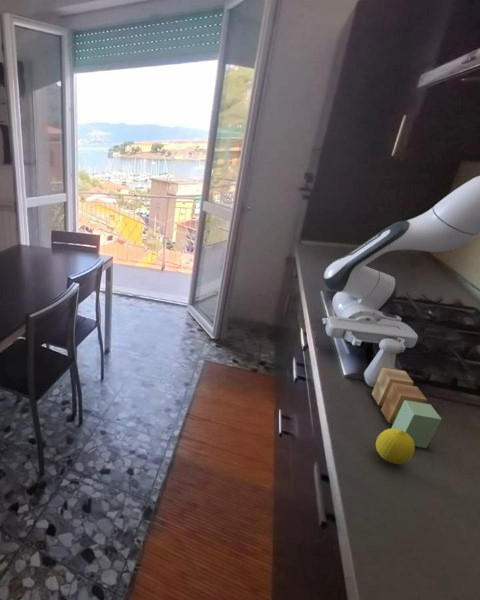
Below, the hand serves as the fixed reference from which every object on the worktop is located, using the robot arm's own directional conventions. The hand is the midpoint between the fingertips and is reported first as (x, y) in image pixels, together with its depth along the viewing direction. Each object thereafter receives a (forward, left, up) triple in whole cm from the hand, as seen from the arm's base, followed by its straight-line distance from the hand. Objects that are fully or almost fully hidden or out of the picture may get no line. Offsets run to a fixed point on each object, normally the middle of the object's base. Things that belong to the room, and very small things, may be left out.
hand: (379, 346), depth 93 cm
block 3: (+4, +23, -9) cm, 25 cm away
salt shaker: (+1, +5, -9) cm, 10 cm away
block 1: (+2, +11, -9) cm, 14 cm away
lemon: (+12, +30, -9) cm, 34 cm away
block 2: (+3, +17, -9) cm, 20 cm away
